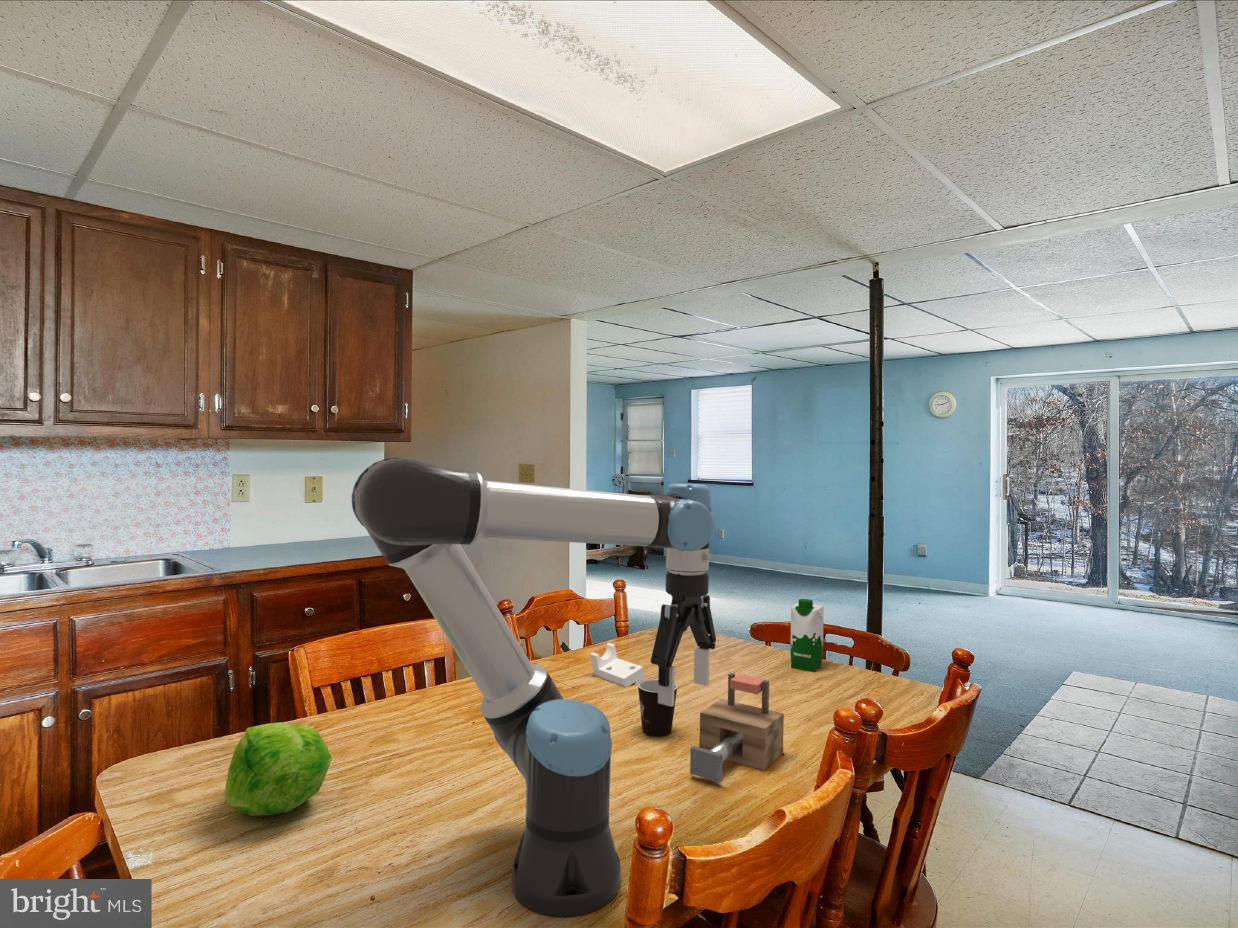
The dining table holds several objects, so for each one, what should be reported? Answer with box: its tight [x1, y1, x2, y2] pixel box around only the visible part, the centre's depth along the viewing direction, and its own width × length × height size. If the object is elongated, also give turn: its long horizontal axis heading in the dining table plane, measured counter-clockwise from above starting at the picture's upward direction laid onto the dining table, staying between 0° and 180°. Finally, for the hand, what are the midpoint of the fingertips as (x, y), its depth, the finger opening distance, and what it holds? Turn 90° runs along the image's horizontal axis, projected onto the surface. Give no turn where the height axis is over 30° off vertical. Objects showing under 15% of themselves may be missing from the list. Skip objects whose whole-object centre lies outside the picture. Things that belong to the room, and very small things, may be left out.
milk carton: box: [790, 598, 825, 673], centre depth 195 cm, size 9×9×20 cm
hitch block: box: [698, 672, 785, 771], centre depth 136 cm, size 10×14×14 cm
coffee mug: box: [637, 678, 678, 738], centre depth 147 cm, size 12×9×10 cm
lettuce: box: [224, 721, 333, 817], centre depth 112 cm, size 15×20×14 cm
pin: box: [689, 732, 743, 784], centre depth 129 cm, size 15×6×5 cm, turn 145°
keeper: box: [730, 673, 768, 695], centre depth 138 cm, size 5×6×2 cm
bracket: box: [589, 642, 646, 688], centre depth 181 cm, size 13×7×8 cm, turn 42°
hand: (684, 693), depth 117 cm, fingers open, 12 cm apart
